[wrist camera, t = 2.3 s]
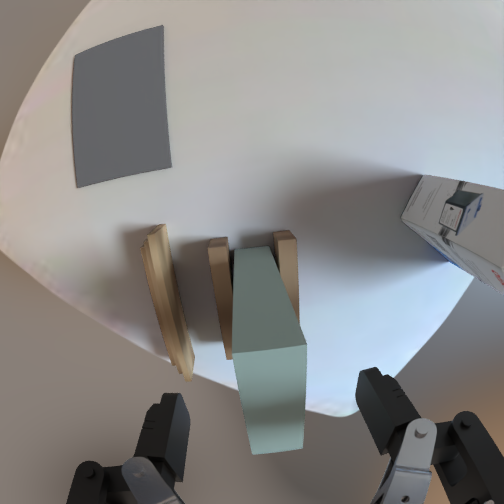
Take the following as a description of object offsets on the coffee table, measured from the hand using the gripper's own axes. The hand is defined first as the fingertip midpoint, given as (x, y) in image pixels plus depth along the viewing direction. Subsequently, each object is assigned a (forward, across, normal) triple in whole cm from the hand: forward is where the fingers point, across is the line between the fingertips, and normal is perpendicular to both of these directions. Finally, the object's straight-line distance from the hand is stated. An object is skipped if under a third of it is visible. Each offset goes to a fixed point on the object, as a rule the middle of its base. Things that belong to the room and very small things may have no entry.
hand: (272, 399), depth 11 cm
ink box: (+11, -17, -4) cm, 21 cm away
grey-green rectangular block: (+11, 0, 0) cm, 11 cm away
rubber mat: (+11, +9, -16) cm, 22 cm away
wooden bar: (+11, +7, 0) cm, 13 cm away
